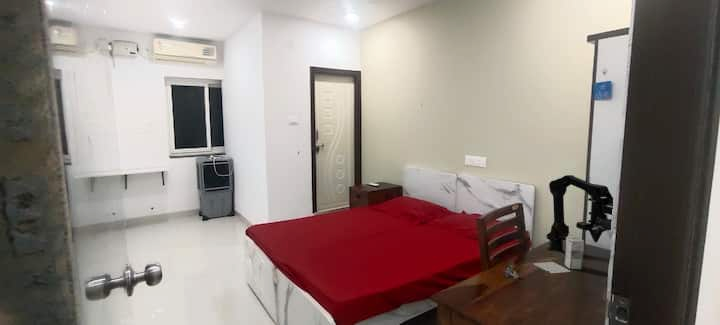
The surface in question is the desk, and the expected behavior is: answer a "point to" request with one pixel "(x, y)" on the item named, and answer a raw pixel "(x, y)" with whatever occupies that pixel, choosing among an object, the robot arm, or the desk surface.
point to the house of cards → (511, 271)
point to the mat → (552, 267)
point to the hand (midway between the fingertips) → (595, 242)
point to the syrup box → (574, 252)
